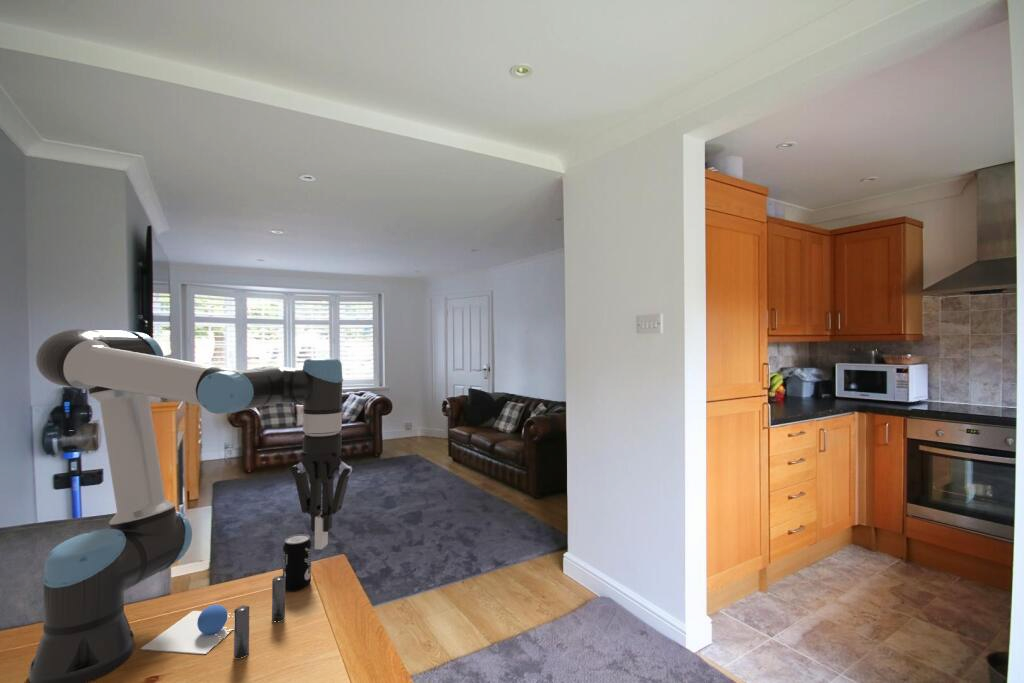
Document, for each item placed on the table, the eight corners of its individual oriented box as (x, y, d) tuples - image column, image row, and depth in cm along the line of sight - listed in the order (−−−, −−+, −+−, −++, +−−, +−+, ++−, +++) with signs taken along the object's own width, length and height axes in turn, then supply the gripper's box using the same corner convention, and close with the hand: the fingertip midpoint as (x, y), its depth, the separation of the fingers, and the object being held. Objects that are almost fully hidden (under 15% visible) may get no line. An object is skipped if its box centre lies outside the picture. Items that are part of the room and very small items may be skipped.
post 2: (269, 622, 108) (269, 581, 108) (276, 615, 110) (276, 575, 110) (280, 622, 107) (281, 581, 107) (287, 616, 110) (287, 576, 110)
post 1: (230, 658, 95) (231, 612, 95) (239, 650, 98) (240, 605, 98) (243, 659, 95) (243, 613, 95) (251, 651, 97) (252, 606, 97)
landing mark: (140, 649, 98) (140, 648, 98) (193, 611, 112) (193, 610, 112) (205, 654, 96) (205, 653, 96) (250, 615, 110) (250, 614, 110)
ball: (216, 615, 101) (214, 641, 101) (234, 601, 106) (232, 626, 106) (192, 611, 101) (189, 638, 101) (210, 598, 107) (209, 623, 107)
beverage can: (300, 593, 120) (300, 544, 120) (276, 590, 121) (277, 542, 121) (316, 581, 126) (316, 534, 126) (293, 578, 128) (294, 532, 128)
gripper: (360, 430, 105) (359, 540, 104) (302, 428, 106) (301, 537, 106) (344, 436, 97) (343, 555, 97) (282, 435, 98) (281, 552, 98)
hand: (321, 546), depth 101 cm, fingers closed
